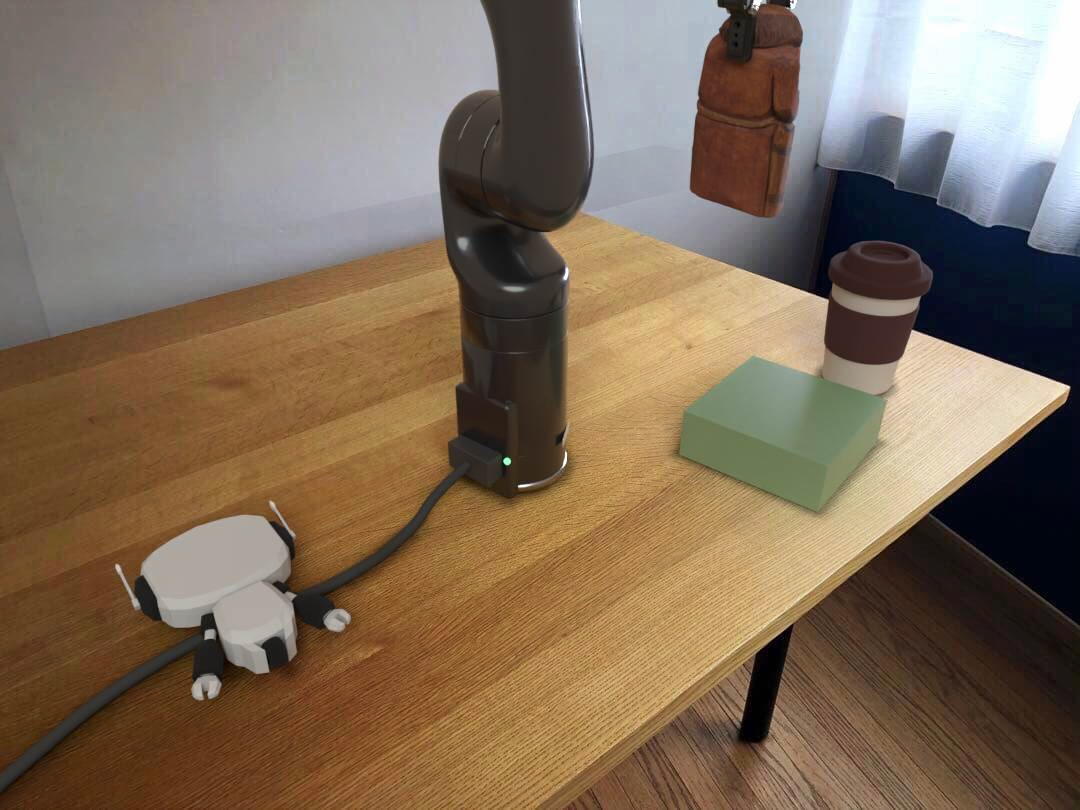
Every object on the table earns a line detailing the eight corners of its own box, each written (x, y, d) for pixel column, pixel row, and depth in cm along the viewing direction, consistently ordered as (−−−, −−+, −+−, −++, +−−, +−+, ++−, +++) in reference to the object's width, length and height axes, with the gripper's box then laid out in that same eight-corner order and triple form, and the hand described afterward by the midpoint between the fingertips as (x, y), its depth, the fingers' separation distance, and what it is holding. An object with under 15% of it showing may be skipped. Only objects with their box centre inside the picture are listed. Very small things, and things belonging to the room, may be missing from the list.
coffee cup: (870, 414, 89) (902, 279, 81) (790, 377, 95) (813, 249, 87) (921, 384, 94) (956, 254, 86) (842, 351, 100) (868, 227, 93)
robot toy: (365, 646, 63) (274, 530, 72) (361, 603, 60) (267, 489, 69) (198, 736, 56) (122, 596, 65) (186, 693, 53) (108, 553, 63)
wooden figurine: (805, 211, 84) (842, 8, 74) (763, 223, 80) (797, 12, 71) (713, 182, 91) (737, -5, 82) (671, 192, 88) (691, -2, 79)
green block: (817, 512, 75) (828, 466, 72) (678, 454, 82) (683, 410, 80) (876, 443, 84) (887, 399, 81) (746, 396, 92) (753, 355, 89)
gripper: (779, -158, 77) (753, 43, 85) (700, -167, 67) (679, 61, 76) (862, -159, 73) (825, 52, 81) (791, -169, 63) (758, 72, 72)
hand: (755, 55), depth 79 cm, fingers closed on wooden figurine, 6 cm apart
